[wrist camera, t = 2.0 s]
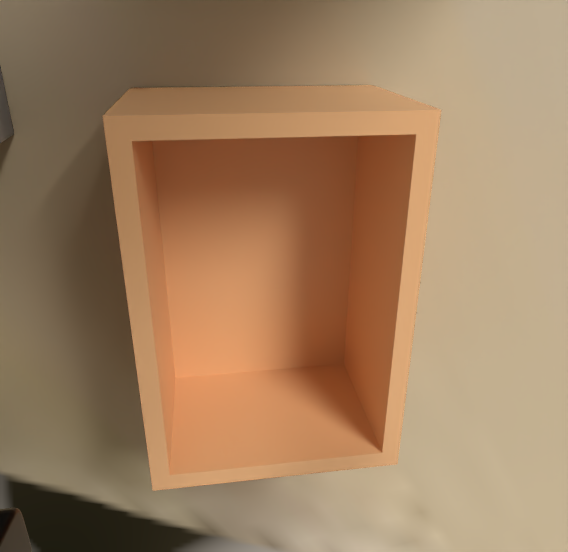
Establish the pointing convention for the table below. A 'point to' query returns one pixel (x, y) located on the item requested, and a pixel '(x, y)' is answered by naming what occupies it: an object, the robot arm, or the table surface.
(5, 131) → the grey crate
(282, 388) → the orange crate
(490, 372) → the table surface
